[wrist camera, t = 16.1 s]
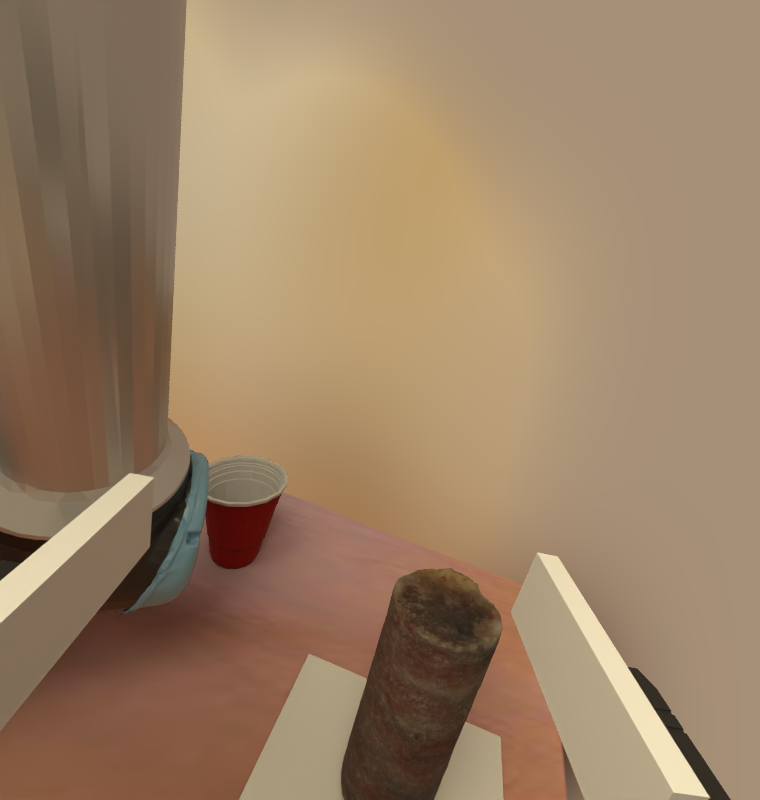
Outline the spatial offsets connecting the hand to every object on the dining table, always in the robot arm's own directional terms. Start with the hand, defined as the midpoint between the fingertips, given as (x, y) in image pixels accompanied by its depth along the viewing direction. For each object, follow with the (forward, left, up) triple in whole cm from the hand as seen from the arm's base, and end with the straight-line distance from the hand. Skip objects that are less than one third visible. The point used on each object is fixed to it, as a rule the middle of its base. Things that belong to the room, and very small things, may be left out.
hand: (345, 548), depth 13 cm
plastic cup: (-19, +28, -30) cm, 45 cm away
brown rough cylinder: (+6, +11, -30) cm, 32 cm away
